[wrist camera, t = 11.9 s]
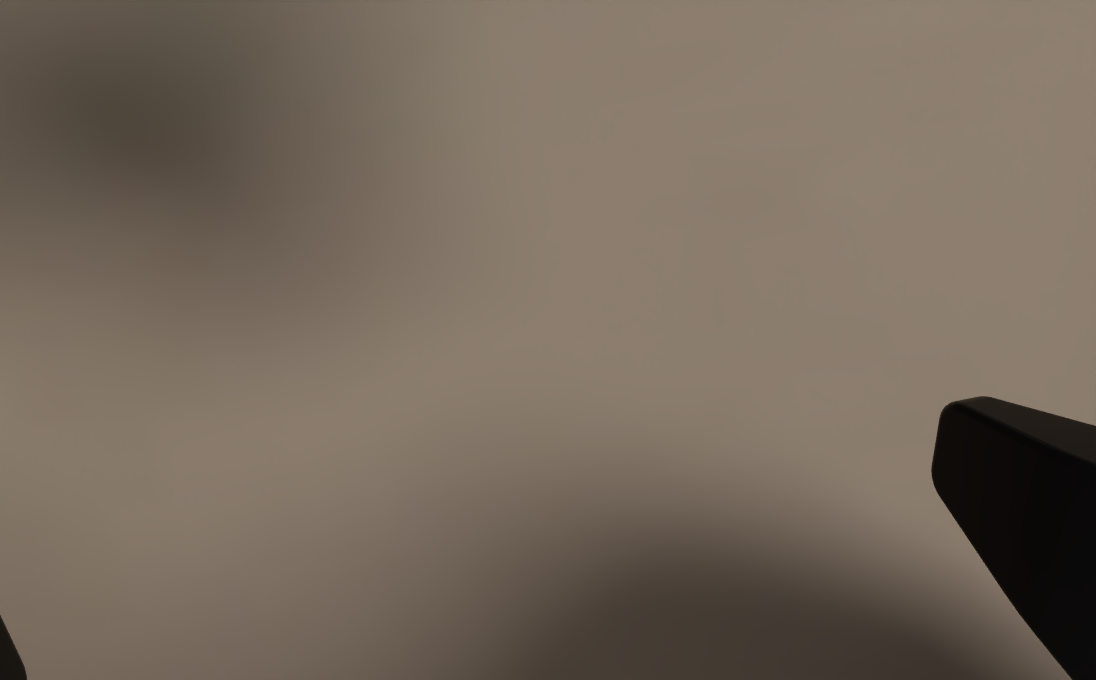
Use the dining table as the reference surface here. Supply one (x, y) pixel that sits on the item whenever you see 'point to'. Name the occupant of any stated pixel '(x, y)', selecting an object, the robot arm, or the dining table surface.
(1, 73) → the dining table surface
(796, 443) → the dining table surface
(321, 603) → the dining table surface
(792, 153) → the dining table surface
